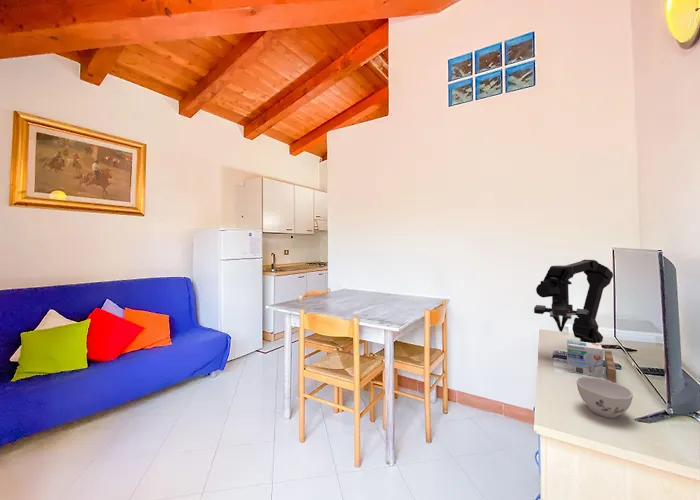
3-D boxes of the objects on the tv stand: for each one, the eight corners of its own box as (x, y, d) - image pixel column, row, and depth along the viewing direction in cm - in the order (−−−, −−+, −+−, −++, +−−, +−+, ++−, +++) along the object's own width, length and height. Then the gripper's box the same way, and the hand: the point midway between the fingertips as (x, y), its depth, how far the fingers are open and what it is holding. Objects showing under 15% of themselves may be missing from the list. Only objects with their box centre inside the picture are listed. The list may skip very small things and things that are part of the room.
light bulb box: (567, 371, 111) (567, 344, 111) (567, 365, 117) (566, 339, 117) (604, 378, 105) (603, 349, 105) (601, 371, 111) (601, 343, 110)
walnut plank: (605, 365, 115) (604, 350, 115) (611, 366, 114) (611, 351, 114) (608, 385, 100) (608, 368, 100) (616, 387, 99) (615, 369, 99)
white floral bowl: (636, 431, 76) (636, 402, 76) (577, 415, 84) (576, 388, 84) (628, 405, 88) (628, 379, 88) (576, 393, 96) (576, 369, 96)
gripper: (531, 296, 122) (532, 332, 122) (588, 300, 110) (589, 340, 110) (535, 292, 131) (536, 326, 131) (588, 295, 119) (589, 333, 119)
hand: (561, 331), depth 123 cm, fingers closed
